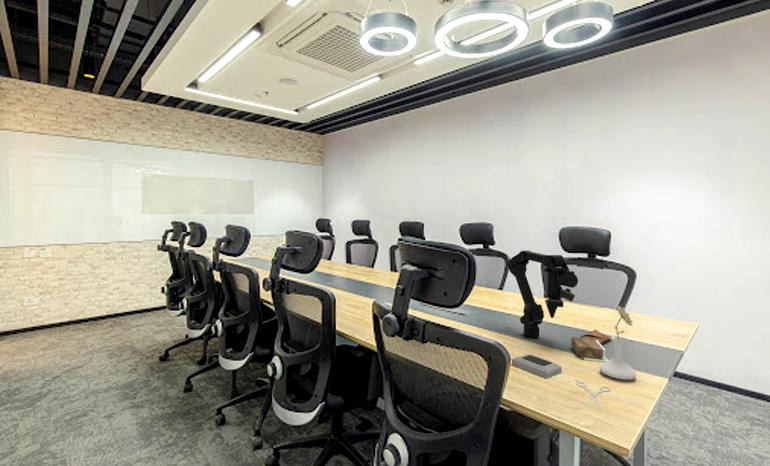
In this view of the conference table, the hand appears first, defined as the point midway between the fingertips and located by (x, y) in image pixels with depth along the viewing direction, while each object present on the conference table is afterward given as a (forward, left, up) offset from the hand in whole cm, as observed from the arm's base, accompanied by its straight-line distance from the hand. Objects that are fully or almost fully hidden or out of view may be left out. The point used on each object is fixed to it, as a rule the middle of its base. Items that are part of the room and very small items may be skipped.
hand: (552, 317), depth 164 cm
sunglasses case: (+20, +10, -13) cm, 26 cm away
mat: (+14, -7, -13) cm, 20 cm away
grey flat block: (-10, -30, -13) cm, 34 cm away
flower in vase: (+18, -27, -13) cm, 35 cm away
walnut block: (+8, -7, -10) cm, 14 cm away
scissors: (+6, -47, -13) cm, 49 cm away
